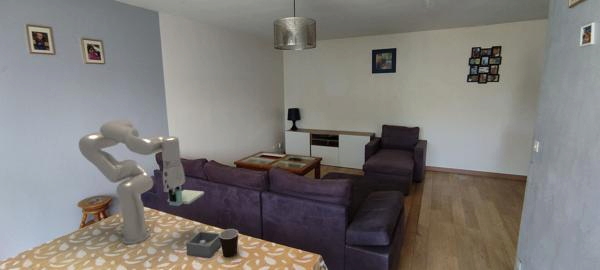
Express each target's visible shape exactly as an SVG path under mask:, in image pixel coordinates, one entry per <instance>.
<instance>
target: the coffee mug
mask: <svg viewBox="0 0 600 270" xmlns="http://www.w3.org/2000/svg"><path fill="white" fill-rule="evenodd" d="M219 237H220V242H221V247H220V248H221V250H222V251H221V252H222V255H223V257H224V258H227V259H228V258H234V257H236V256H237V254H238V245H239V244H238V242H239V231H238V230H237V229H234V228H227V229H224V230H223V231H221V232H220V233H219Z"/></svg>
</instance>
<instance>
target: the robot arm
mask: <svg viewBox="0 0 600 270" xmlns="http://www.w3.org/2000/svg"><path fill="white" fill-rule="evenodd" d="M139 135H140V134H139V130H138V129H136V128H135V127H134V126H133V124H132V122H130V121H128V120H126V119H120V120H112V121H107V122H105V123H103V124H102V125H101V127H100V128H99V132H98V131H97V132H93V133H89V134H88V133H87V134H86V135H83V136H82V137H81V138H80V139H79V141H78V148H79V151H80V153H81V155H82V156H83V157H84V158H85V159H86V160H87V161H89V162H90V163H91V164H93V165H94V167H96V168H97V169H98V171H99V172H100V173H101V174H103V177H105V178H106V179H107V180H108V181H109V182H110V183H113V184H116V183H119V182H120V183H119V184H117V187H116V188H115V189H116V190H115V191H116V195H117V198H118V200H119V203H120V207H121V214H122V221H123V222H122V223H123V228H121V230H120V231H119V233H120V234H121V235H123V236H122V238H121V243H123V244H125V245H134V244H138V243H141V242H143V241H145V240H148V239H149V237H150V236H151V231H150V230H148V229H147V224H146V216H145V209H144V202H143V200H142V199H141V198H140V197H139V196H141V195H142V194H143V193H146V192H147V191H150V190H151V189H152V188H153V186H154V181H153V179H152V177H151V175H149V173H148V172H147V171H146V170H145V169H144V168H143V167H142V165H141V164H139V163H138V162H137V161H136V160H133V159H124V160H121V161H118V160H117V159H116V158H115V157H114V156H113V155H112V154H111V153H110V152H107V151H105V150H102V149H106V148H111V147H115V146H117V145H118V144H120V143H121V144H124V145H125V147H126V148H127V149H128V151H130V152H133V153H135V154H138V155H143V156H150V155H153V154H156V153H159V152H161V154H162V155H161V156H162V163H163V164H162V165H163V168H162V183H163V192H164V193H167V194H168V199H169V198H170V202H176V194H175V189H179V190H181V191H182V187H183V185H184V184H185V182H186V176H185V175H186V174H185V169H184V167H183V164H182V161H181V160H182V159H181V149H180V140H179V138H178V137H177V136H166V135H163V134H161V135H154V136H151V137H146V138H141V137H139ZM171 189H172V191H171Z"/></svg>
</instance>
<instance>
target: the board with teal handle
mask: <svg viewBox="0 0 600 270" xmlns="http://www.w3.org/2000/svg"><path fill="white" fill-rule="evenodd" d="M171 191H172V189H171ZM175 194H176V202H170V198H169V197H168V199H167V202H168V204H169V206H173V207H175V206H176V207H177V206H178V207H179V206H181V205H182V204H184V205H189V204H191V203H193V202H194V201H196V200H197V199H199V198H200V197H202V196H203V195H204V194H205V191H201V190H193V189H192V190H190V189H183V190H182V189H181V190H179V189H175Z"/></svg>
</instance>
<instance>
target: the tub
mask: <svg viewBox="0 0 600 270" xmlns="http://www.w3.org/2000/svg"><path fill="white" fill-rule="evenodd" d="M219 234H220V233H218V232H212V231H211V232H210V231H204V230H203V231H202V230H199V231H198V232H197V233H196V234H195V235H193V236H192V237H191V238H189V240H188V241H186V242H185V246H186V247H185V248H186V255H187V256H191V257H193V256H194V257H198V258H205V259H211V258H212V257H213V256H214V255H215V254H216V252H218V250H219V249H220V248H222V247H221V242H220V237H219Z"/></svg>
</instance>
